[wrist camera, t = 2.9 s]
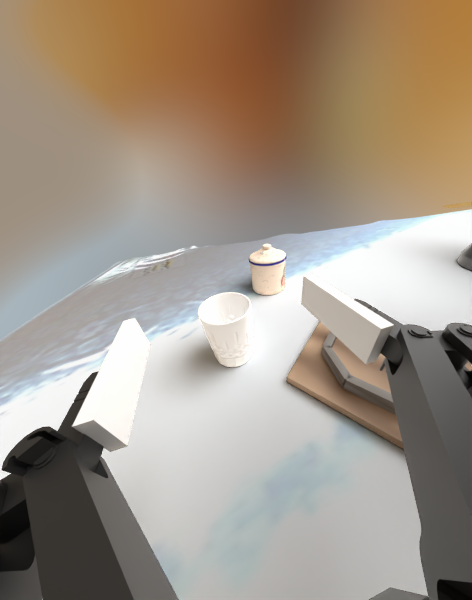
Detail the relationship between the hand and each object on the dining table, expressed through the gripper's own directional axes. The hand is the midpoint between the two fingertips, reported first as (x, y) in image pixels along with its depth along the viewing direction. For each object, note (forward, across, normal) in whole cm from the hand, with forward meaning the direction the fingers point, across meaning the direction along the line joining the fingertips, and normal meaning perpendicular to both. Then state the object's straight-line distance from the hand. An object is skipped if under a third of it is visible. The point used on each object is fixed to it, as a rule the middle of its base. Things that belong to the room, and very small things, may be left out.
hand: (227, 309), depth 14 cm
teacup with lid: (+29, +15, -16) cm, 37 cm away
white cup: (+10, +1, -17) cm, 19 cm away
